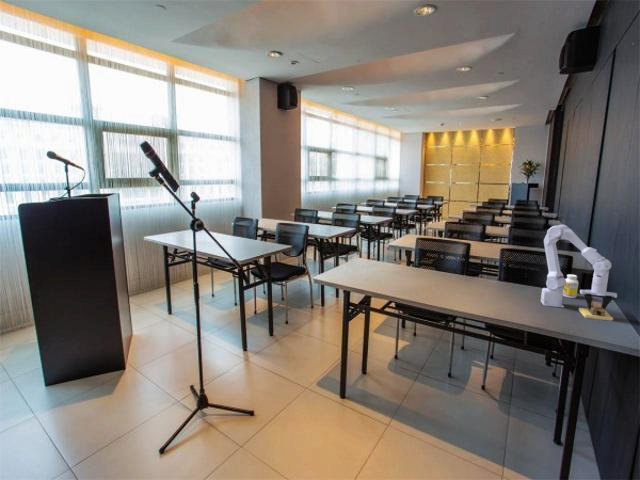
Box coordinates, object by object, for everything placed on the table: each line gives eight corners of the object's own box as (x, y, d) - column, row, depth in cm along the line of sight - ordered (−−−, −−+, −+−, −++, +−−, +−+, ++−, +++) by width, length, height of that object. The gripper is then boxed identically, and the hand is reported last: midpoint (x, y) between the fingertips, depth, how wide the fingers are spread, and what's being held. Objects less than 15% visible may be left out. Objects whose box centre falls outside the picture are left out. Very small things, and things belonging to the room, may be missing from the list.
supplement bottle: (561, 293, 203) (563, 273, 201) (574, 295, 200) (577, 274, 198) (564, 297, 197) (567, 276, 194) (578, 298, 194) (581, 277, 192)
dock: (585, 317, 169) (585, 314, 168) (578, 310, 178) (579, 307, 178) (612, 320, 165) (613, 317, 164) (604, 313, 174) (604, 310, 174)
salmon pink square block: (593, 307, 169) (594, 303, 169) (591, 305, 172) (591, 301, 172) (600, 308, 168) (601, 304, 168) (598, 306, 171) (598, 302, 171)
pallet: (592, 315, 168) (593, 308, 168) (586, 309, 176) (587, 303, 175) (604, 316, 166) (605, 310, 166) (598, 310, 174) (599, 304, 173)
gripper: (584, 284, 167) (581, 310, 170) (621, 287, 162) (617, 314, 164) (580, 280, 174) (576, 305, 176) (615, 283, 168) (611, 308, 171)
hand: (595, 309), depth 171 cm, fingers open, 5 cm apart
